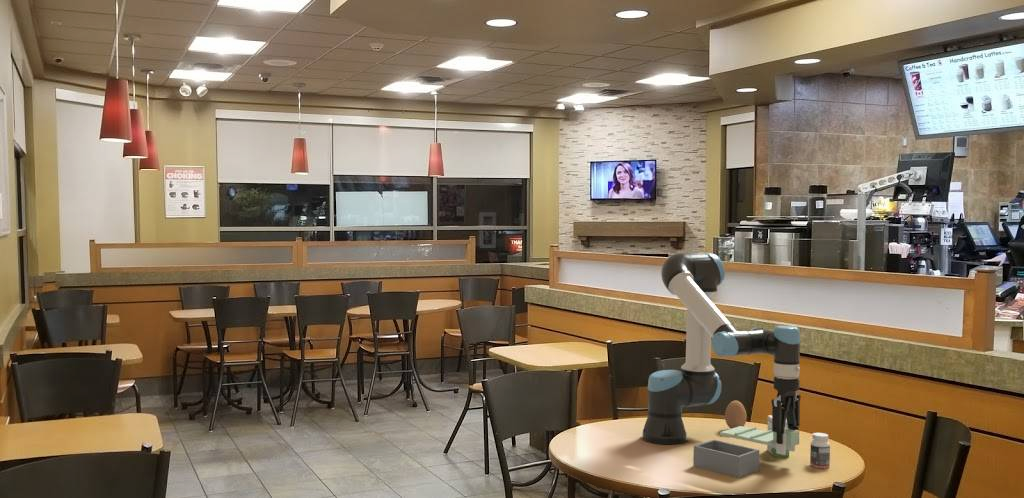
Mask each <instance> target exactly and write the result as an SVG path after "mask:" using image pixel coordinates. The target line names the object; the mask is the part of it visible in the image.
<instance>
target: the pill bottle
mask: <svg viewBox="0 0 1024 498" xmlns="http://www.w3.org/2000/svg"><path fill="white" fill-rule="evenodd" d="M809 458H810V459H809V461H810V463H809V464H810V466H811V467H814V468H815V469H816V468H817V469H827V468H830V464H831V463H830V462H831V444H830V442H829V434H827V433H825V432H824V433H823V432H812V440H811V441H810V457H809Z"/></svg>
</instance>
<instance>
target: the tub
mask: <svg viewBox="0 0 1024 498" xmlns="http://www.w3.org/2000/svg"><path fill="white" fill-rule="evenodd" d="M692 459H693V460H692V461H693V462H692V463H693V467H695V468H699V469H704V470H707V471H709V472H710V471H711V472H715V473H718V474H723V475H726V476H731V477H735V478H737V479H739V478H742V477H745V476H748V475H750V474H754V473H756V472H758V471H760V449H757V448H753V447H749V446H743V445H738V444H735V443H731V442H726V441H721V440H717V439H712V440H708V441H705V442H702V443H699V444H695V445H693V458H692Z"/></svg>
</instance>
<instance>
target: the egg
mask: <svg viewBox="0 0 1024 498" xmlns="http://www.w3.org/2000/svg"><path fill="white" fill-rule="evenodd" d="M724 421H725V422H726V425H727V426H728V428H729V429H732V428H735V427H739V426H743V427H745V425H746V423H747V411H746V409H745V406H744V404H742V402H740V401H739V400H733V401H731V402H730V403H729V404H728V405H727V406H726V409H725V413H724Z"/></svg>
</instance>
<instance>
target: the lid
mask: <svg viewBox="0 0 1024 498" xmlns="http://www.w3.org/2000/svg"><path fill="white" fill-rule="evenodd" d="M719 433H720V434H719V435H720V436H723V437H727V438H732V439H737V440H742V441H747V442H751V443H757V444H760V445H766V446H767V445H769V444H772V443H775V444H776V432H772V430H768V429H767V430H763V429H762V430H761V429H757V427H756V426H753V427H747V426H739V427H735V428H732V429H731V428H729V429H726V430H723V431H720V432H719ZM784 433H786V446H789V447H792V446H795V447H796V446H797V445H799V444H800V430H791V429H786V428H785V430H784Z"/></svg>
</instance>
